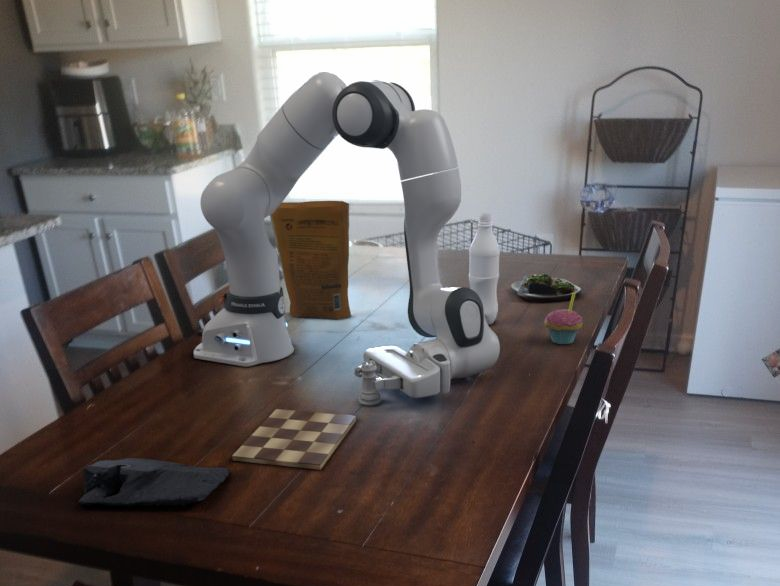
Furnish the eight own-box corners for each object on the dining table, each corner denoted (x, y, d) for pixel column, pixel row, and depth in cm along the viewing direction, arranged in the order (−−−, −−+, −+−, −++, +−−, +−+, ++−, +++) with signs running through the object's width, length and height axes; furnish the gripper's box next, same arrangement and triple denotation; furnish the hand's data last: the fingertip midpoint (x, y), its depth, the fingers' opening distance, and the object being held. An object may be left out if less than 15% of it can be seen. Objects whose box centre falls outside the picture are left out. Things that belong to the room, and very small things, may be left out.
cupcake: (585, 337, 192) (590, 285, 186) (576, 349, 186) (580, 295, 179) (548, 333, 195) (552, 281, 189) (538, 344, 189) (541, 291, 183)
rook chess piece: (364, 408, 162) (362, 369, 157) (354, 400, 165) (352, 361, 161) (385, 403, 163) (384, 364, 159) (375, 395, 167) (373, 357, 162)
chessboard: (232, 460, 144) (231, 455, 144) (276, 413, 161) (276, 408, 160) (320, 470, 140) (320, 464, 140) (356, 420, 157) (356, 415, 156)
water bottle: (496, 327, 200) (499, 218, 187) (466, 326, 201) (467, 217, 188) (498, 318, 206) (502, 211, 193) (469, 317, 207) (471, 211, 194)
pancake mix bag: (351, 322, 206) (344, 203, 191) (278, 318, 210) (266, 201, 196) (359, 314, 212) (353, 197, 197) (288, 310, 216) (277, 196, 201)
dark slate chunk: (202, 518, 128) (197, 491, 125) (70, 507, 132) (63, 481, 129) (237, 471, 141) (233, 446, 138) (116, 463, 145) (110, 438, 142)
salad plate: (497, 285, 230) (498, 268, 228) (558, 279, 233) (560, 262, 231) (522, 305, 214) (523, 287, 211) (587, 299, 217) (589, 281, 215)
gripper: (399, 334, 173) (339, 347, 167) (454, 364, 158) (390, 379, 152) (400, 363, 176) (341, 377, 171) (453, 395, 161) (391, 411, 155)
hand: (364, 378), depth 161 cm, fingers open, 6 cm apart
